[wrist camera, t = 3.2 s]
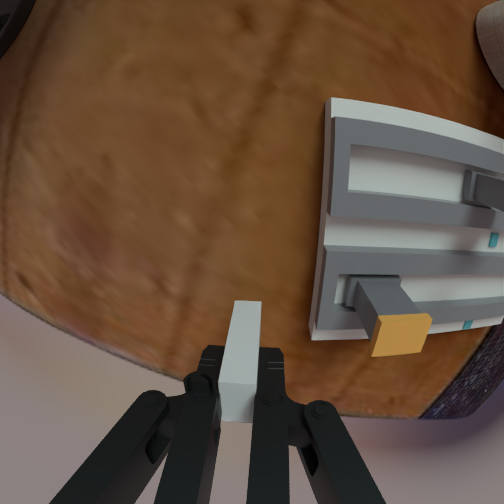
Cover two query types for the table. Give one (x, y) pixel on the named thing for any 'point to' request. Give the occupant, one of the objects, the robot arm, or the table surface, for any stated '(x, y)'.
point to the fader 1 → (387, 314)
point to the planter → (492, 38)
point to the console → (407, 217)
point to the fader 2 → (484, 189)
